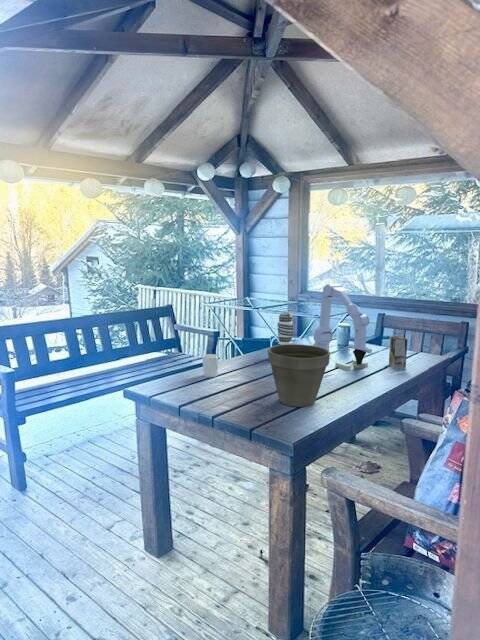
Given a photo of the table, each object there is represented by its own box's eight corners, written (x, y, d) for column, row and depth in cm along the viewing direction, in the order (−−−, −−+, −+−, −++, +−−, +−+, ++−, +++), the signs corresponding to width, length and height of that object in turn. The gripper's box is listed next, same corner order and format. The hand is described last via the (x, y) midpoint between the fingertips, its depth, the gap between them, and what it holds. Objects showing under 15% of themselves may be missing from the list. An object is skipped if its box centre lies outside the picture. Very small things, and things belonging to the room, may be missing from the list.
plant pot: (339, 400, 189) (341, 349, 186) (306, 417, 171) (307, 360, 168) (290, 388, 206) (291, 341, 202) (255, 402, 188) (255, 350, 184)
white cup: (221, 374, 229) (221, 355, 227) (213, 378, 221) (213, 358, 220) (207, 372, 232) (207, 353, 230) (199, 376, 225) (199, 356, 223)
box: (335, 367, 242) (335, 362, 241) (355, 363, 249) (355, 359, 249) (347, 371, 234) (347, 366, 234) (367, 367, 242) (368, 362, 241)
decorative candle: (274, 354, 271) (274, 312, 267) (287, 353, 274) (288, 311, 270) (282, 357, 262) (282, 314, 258) (295, 356, 266) (296, 313, 262)
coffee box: (406, 370, 236) (407, 339, 234) (393, 369, 236) (395, 339, 234) (400, 365, 245) (402, 336, 243) (388, 365, 245) (389, 335, 243)
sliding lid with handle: (351, 371, 235) (351, 365, 235) (364, 369, 240) (365, 362, 240) (364, 375, 227) (364, 369, 227) (378, 373, 233) (378, 366, 232)
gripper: (344, 336, 239) (343, 362, 241) (365, 341, 226) (364, 368, 229) (354, 335, 242) (353, 360, 244) (375, 340, 230) (374, 366, 232)
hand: (359, 364), depth 237 cm, fingers closed
